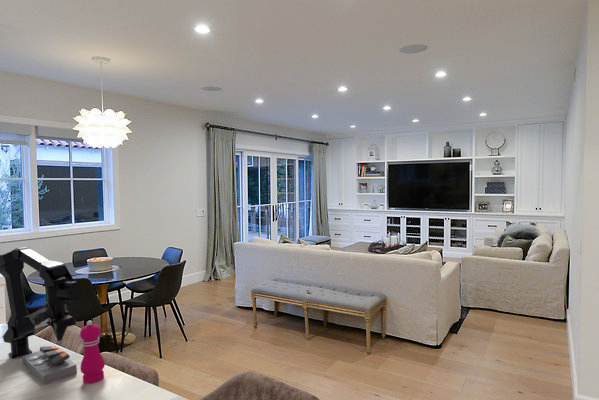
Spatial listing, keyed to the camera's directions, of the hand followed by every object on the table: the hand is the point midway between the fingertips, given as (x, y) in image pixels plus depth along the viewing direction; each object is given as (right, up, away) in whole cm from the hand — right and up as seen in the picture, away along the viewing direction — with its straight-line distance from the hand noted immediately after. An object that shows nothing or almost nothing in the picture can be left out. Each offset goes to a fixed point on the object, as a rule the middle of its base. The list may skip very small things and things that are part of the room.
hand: (59, 340), depth 147 cm
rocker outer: (+4, -5, -6) cm, 9 cm away
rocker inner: (-5, -5, +2) cm, 7 cm away
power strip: (-2, -9, -3) cm, 10 cm away
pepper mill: (+19, -9, -12) cm, 24 cm away
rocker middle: (-1, -5, -2) cm, 5 cm away
